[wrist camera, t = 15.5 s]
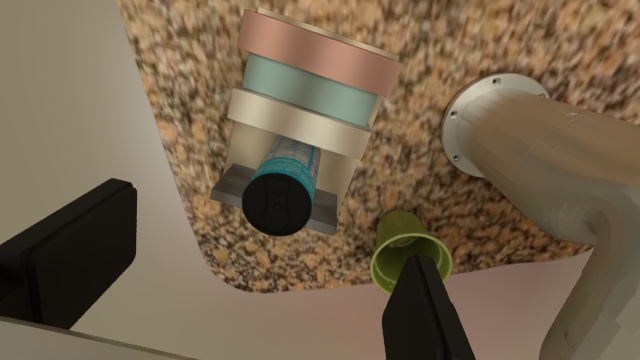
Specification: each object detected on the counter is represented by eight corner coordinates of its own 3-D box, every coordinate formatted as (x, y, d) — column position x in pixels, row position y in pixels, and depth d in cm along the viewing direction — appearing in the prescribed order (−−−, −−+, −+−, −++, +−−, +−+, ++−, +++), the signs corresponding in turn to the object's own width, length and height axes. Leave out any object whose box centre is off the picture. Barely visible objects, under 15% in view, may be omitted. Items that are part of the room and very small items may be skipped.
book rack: (397, 55, 38) (419, 62, 27) (333, 221, 47) (331, 273, 36) (261, 7, 36) (231, -3, 26) (222, 188, 45) (188, 231, 35)
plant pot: (443, 240, 47) (464, 282, 39) (382, 265, 49) (390, 309, 41) (417, 187, 44) (434, 220, 36) (353, 216, 46) (356, 253, 38)
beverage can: (269, 164, 42) (235, 226, 29) (279, 121, 40) (248, 165, 26) (314, 177, 43) (302, 244, 29) (326, 134, 40) (320, 185, 27)
